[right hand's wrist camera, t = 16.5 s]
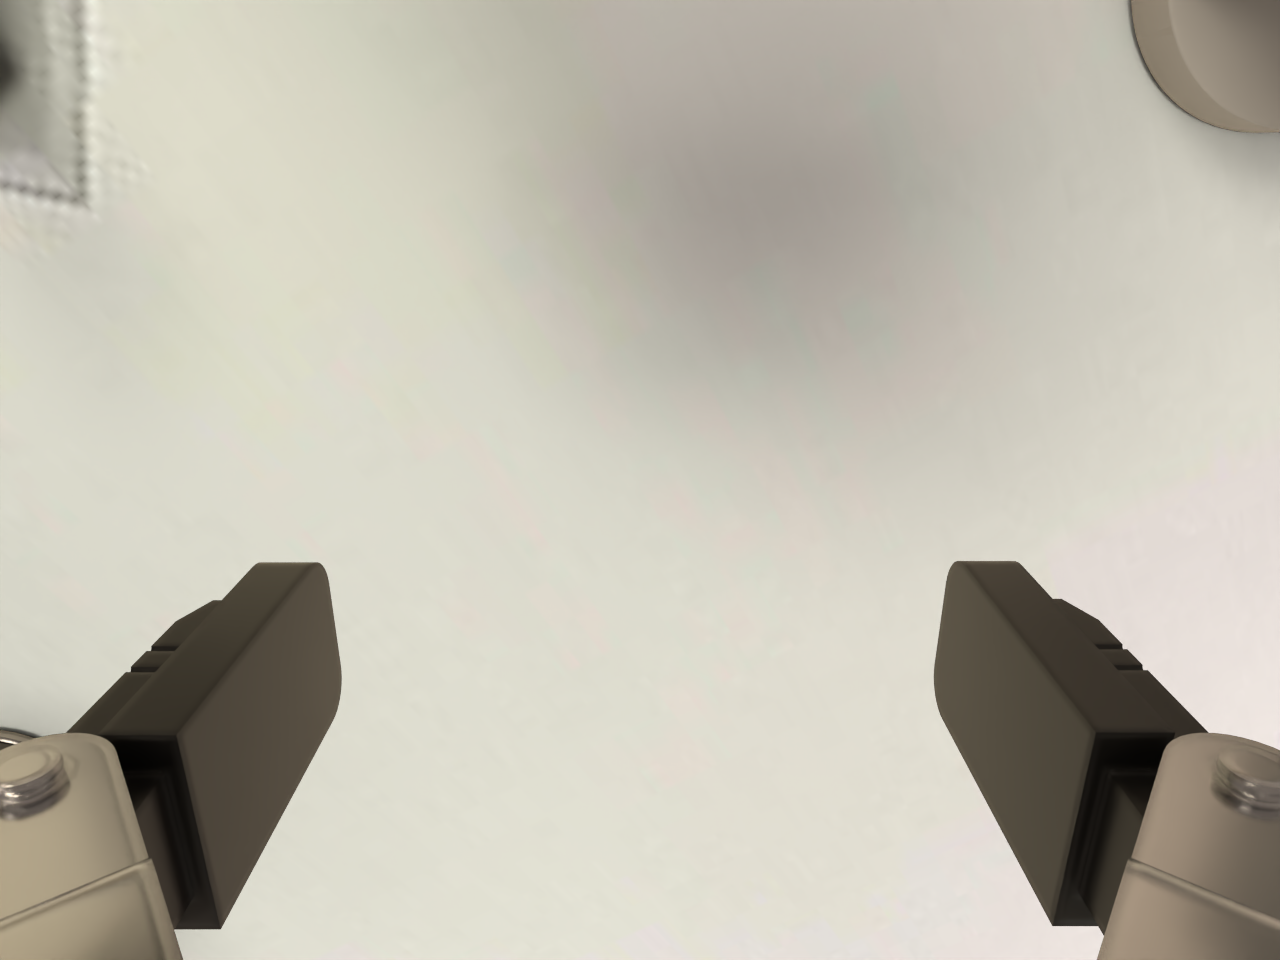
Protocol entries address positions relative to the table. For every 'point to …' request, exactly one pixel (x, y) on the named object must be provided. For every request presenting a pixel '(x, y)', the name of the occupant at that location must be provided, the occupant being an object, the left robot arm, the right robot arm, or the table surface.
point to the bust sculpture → (1215, 58)
